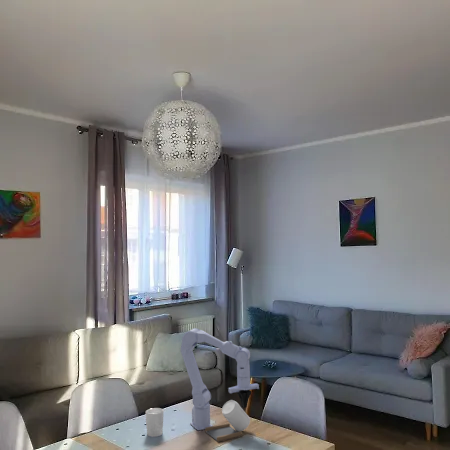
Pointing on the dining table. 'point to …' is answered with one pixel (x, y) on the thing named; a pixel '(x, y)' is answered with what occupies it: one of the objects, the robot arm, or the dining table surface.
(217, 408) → the dining table surface
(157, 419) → the white cup
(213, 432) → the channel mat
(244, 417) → the beverage can
